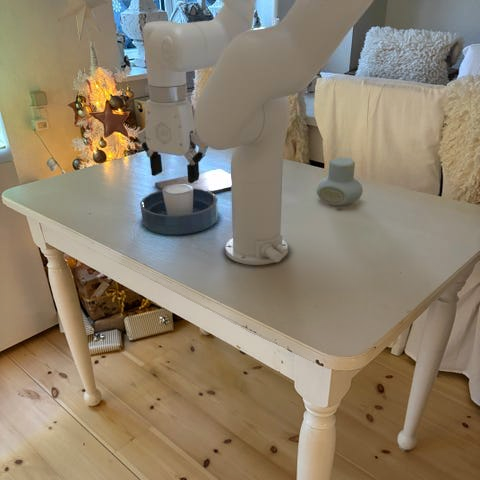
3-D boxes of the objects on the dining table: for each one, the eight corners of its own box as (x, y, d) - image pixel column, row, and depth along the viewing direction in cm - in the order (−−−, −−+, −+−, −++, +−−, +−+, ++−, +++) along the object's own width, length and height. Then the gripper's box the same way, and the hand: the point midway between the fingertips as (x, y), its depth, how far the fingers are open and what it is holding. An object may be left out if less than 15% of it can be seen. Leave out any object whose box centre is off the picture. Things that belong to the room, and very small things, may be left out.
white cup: (160, 222, 111) (157, 193, 107) (172, 211, 117) (169, 182, 113) (188, 226, 109) (186, 195, 105) (199, 214, 115) (197, 185, 111)
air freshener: (365, 200, 120) (371, 160, 115) (352, 212, 115) (357, 169, 109) (325, 192, 125) (328, 153, 120) (310, 203, 120) (313, 162, 114)
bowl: (231, 223, 111) (230, 204, 108) (161, 242, 103) (159, 222, 101) (196, 200, 123) (195, 182, 120) (131, 215, 116) (129, 197, 113)
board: (245, 186, 130) (245, 183, 130) (177, 202, 122) (177, 198, 121) (219, 172, 140) (219, 169, 140) (155, 186, 132) (154, 182, 131)
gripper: (122, 92, 99) (133, 176, 109) (194, 102, 92) (199, 190, 102) (145, 86, 104) (153, 166, 114) (215, 94, 97) (217, 178, 107)
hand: (175, 177), depth 108 cm, fingers open, 9 cm apart
